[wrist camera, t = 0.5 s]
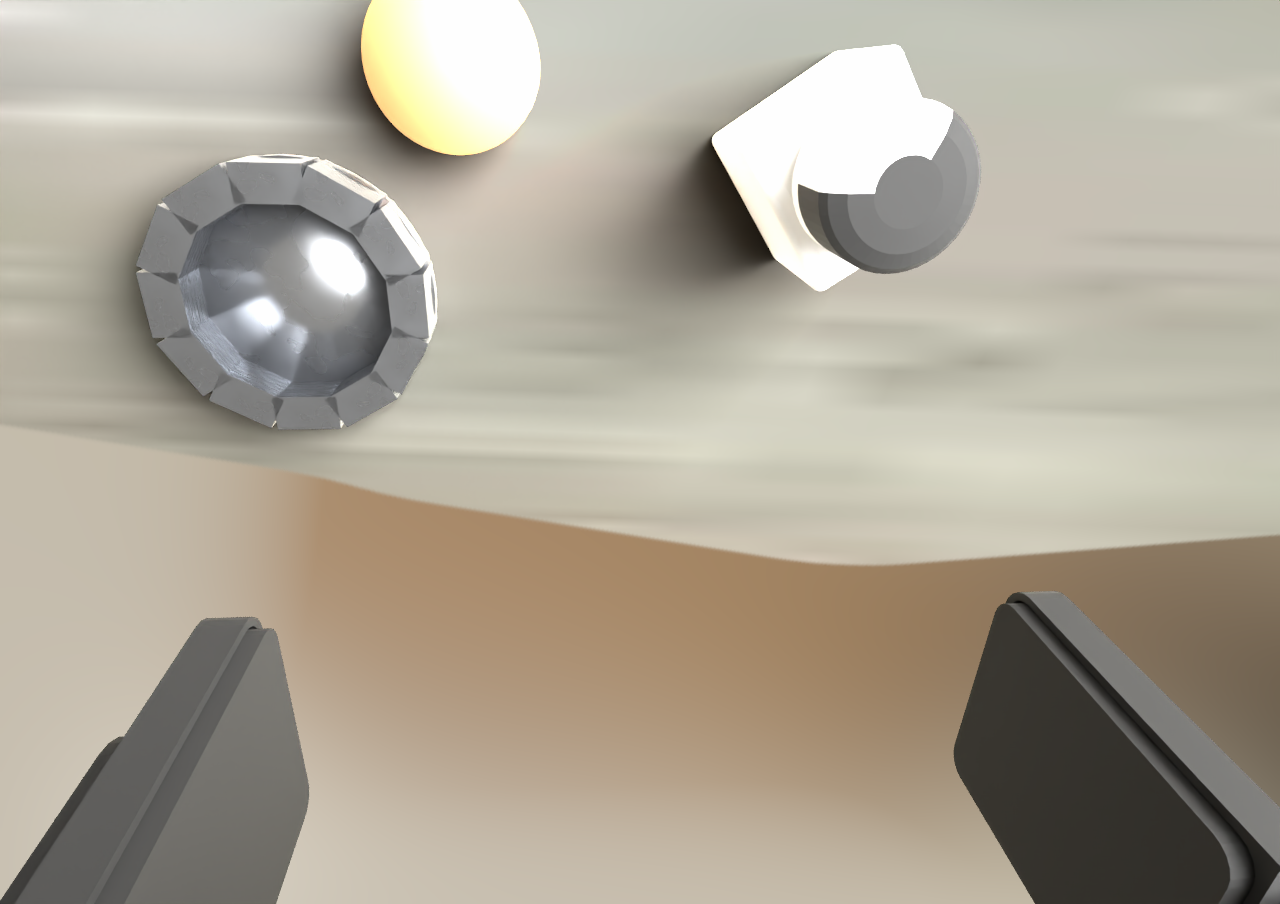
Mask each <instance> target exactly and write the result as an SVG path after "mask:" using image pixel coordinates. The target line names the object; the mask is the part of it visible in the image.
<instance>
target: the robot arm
mask: <svg viewBox="0 0 1280 904" xmlns="http://www.w3.org/2000/svg"><path fill="white" fill-rule="evenodd" d="M954 761H955V766H956V769H957V772H958V774H959V776H960V778H961V779H962V781H963V783H964V784H965V786H966V787H967V789H968V791H969V793H970V795H971V796H972V798H973V800H974V801H975V803H976V805H977V806H978V808H979V809H980V811H981V813H982V815H983V817H984V818H985V820H986V822H987V823H988V825H989V826H990V828H991V830H992V832H993V833H994V835H995V837H996V839H997V840H998V842H999V843H1000V845H1001V847H1002V849H1003V850H1004V852H1005V854H1006V855H1007V857H1008V859H1009V860H1010V862H1011V864H1012V865H1013V867H1014V869H1015V871H1016V872H1017V874H1018V875H1019V877H1020V879H1021V881H1022V882H1023V884H1024V886H1025V887H1026V889H1027V891H1028V893H1029V894H1030V896H1031V897H1032V899H1033V901H1034V903H1035V904H1280V807H1279V806H1278V805H1277V804H1276V803H1275V802H1273V801H1272V799H1271V798H1270V797H1269V796H1268V795H1267V794H1266V793H1265V792H1264V791H1263V790H1262V789H1260V787H1258V786H1257V785H1256V784H1255V783H1254V782H1253V781H1252V780H1251V779H1250V778H1249V777H1248V776H1247V775H1246V774H1245V773H1244V772H1243V771H1242V770H1241V769H1240V768H1239V767H1238V766H1237V765H1236V764H1235V763H1234V762H1233V761H1232V760H1231V759H1230V758H1229V757H1228V756H1227V755H1226V754H1225V753H1224V752H1223V751H1222V750H1221V749H1220V748H1219V747H1218V746H1217V745H1216V744H1215V743H1214V742H1213V741H1212V740H1211V739H1210V738H1209V737H1208V736H1207V735H1206V734H1205V733H1204V732H1203V731H1202V730H1201V729H1200V728H1199V727H1198V726H1197V725H1196V724H1195V723H1194V722H1193V721H1192V720H1191V719H1190V718H1189V717H1188V716H1187V715H1186V714H1185V713H1184V712H1183V711H1182V710H1181V709H1179V707H1178V706H1177V705H1176V704H1175V703H1174V702H1173V701H1172V700H1171V699H1170V698H1169V697H1167V695H1165V693H1164V692H1163V691H1162V690H1160V688H1159V687H1158V686H1157V685H1155V684H1154V683H1153V682H1152V681H1151V680H1150V679H1149V678H1148V677H1147V676H1146V675H1145V674H1144V673H1143V672H1142V671H1141V670H1140V669H1139V668H1138V667H1137V666H1136V665H1135V664H1134V663H1133V662H1132V661H1131V660H1130V659H1129V658H1128V657H1127V656H1126V655H1125V654H1124V653H1123V652H1122V651H1121V650H1120V649H1119V648H1118V647H1117V646H1116V645H1115V644H1114V643H1113V642H1112V641H1111V640H1110V639H1109V638H1108V637H1107V636H1106V635H1105V634H1104V633H1103V632H1102V631H1101V630H1100V629H1099V628H1098V627H1097V626H1096V625H1095V624H1094V623H1093V622H1092V621H1091V620H1090V619H1089V618H1088V617H1087V616H1086V615H1085V614H1084V613H1083V612H1082V611H1081V610H1080V609H1079V608H1078V607H1077V606H1075V604H1074V603H1073V602H1072V601H1071V600H1070V599H1069V598H1068V597H1066V596H1064V594H1062V593H1060V592H1056V591H1044V592H1018V593H1014V594H1012V595H1011V596H1010V597H1009V598H1008V599H1007V601H1006V604H1002V605H1000V606H999V607H998V608H997V610H996V612H995V615H994V618H993V621H992V625H991V628H990V631H989V635H988V638H987V641H986V644H985V648H984V651H983V654H982V657H981V661H980V664H979V667H978V671H977V674H976V677H975V680H974V684H973V687H972V690H971V694H970V697H969V700H968V703H967V707H966V710H965V713H964V716H963V720H962V723H961V726H960V729H959V733H958V736H957V739H956V742H955V747H954ZM308 799H309V785H308V779H307V774H306V769H305V764H304V759H303V755H302V751H301V745H300V741H299V736H298V731H297V727H296V722H295V717H294V712H293V708H292V703H291V698H290V693H289V689H288V684H287V680H286V674H285V670H284V665H283V660H282V656H281V651H280V647H279V641H278V637H277V634H276V632H275V631H274V629H263V628H262V625H261V623H260V621H259V620H258V619H257V618H255V617H239V618H238V617H236V618H207V619H204V620H202V621H201V622H200V623H199V624H198V625H197V626H196V628H195V629H194V631H193V632H192V634H191V635H190V637H189V638H188V640H187V642H186V643H185V645H184V646H183V648H182V649H181V651H180V652H179V654H178V656H177V657H176V658H175V660H174V661H173V663H172V664H171V666H170V668H169V669H168V670H167V672H166V674H165V675H164V677H163V678H162V680H161V681H160V683H159V684H158V686H157V687H156V689H155V690H154V692H153V693H152V695H151V697H150V698H149V700H148V701H147V703H146V704H145V706H144V707H143V709H142V710H141V712H140V713H139V715H138V716H137V718H136V719H135V721H134V722H133V724H132V725H131V727H130V728H129V730H128V731H127V733H126V734H125V736H124V737H118V738H116V739H115V740H113V741H112V742H110V743H109V744H108V745H107V746H106V747H105V748H104V749H103V751H102V752H101V753H100V754H99V755H98V757H97V758H96V760H95V761H94V763H93V764H92V766H91V767H90V769H89V770H88V772H87V773H86V775H85V776H84V777H83V779H82V780H81V782H80V783H79V785H78V787H77V788H76V790H75V791H74V792H73V794H72V795H71V797H70V798H69V800H68V801H67V803H66V804H65V806H64V807H63V809H62V810H61V812H60V813H59V815H58V816H57V817H56V819H55V820H54V822H53V823H52V825H51V826H50V828H49V829H48V831H47V832H46V834H45V835H44V837H43V838H42V840H41V841H40V843H39V844H38V846H37V847H36V849H35V850H34V852H33V853H32V854H31V856H30V857H29V859H28V860H27V862H26V864H25V865H24V867H23V868H22V869H21V871H20V872H19V874H18V875H17V877H16V878H15V880H14V881H13V883H12V884H11V886H10V887H9V889H8V890H7V892H6V893H5V895H4V896H3V897H2V899H1V900H0V904H276V902H277V899H278V896H279V893H280V890H281V887H282V884H283V881H284V878H285V875H286V872H287V869H288V866H289V863H290V860H291V857H292V854H293V851H294V848H295V845H296V842H297V839H298V836H299V833H300V830H301V827H302V825H303V822H304V819H305V815H306V812H307V807H308Z"/></svg>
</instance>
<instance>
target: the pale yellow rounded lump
mask: <svg viewBox="0 0 1280 904" xmlns="http://www.w3.org/2000/svg"><path fill="white" fill-rule="evenodd" d="M361 54H362V63H363V69H364V73H365V76H366V80H367V83H368V86H369V88H370V90H371V93H372V95H373V97H374V99H375V101H376V102H377V104H378V106H379V108H380V109H381V110H382V112H383V113H384V115H385V116H386V117H387V118H388V120H389V121H390V122H391V123H392V124H393V125H394V126H395V127H396V128H397V129H398V130H399V131H400V132H402V133H403V134H404V135H405V136H407V137H408V138H409V139H411V140H412V141H414V142H416V143H417V144H419V145H421V146H423V147H425V148H428V149H431V150H433V151H436V152H440V153H445V154H452V155H470V154H475V153H480V152H483V151H486V150H489V149H491V148H493V147H495V146H497V145H499V144H501V143H502V142H504V141H505V140H506V139H508V138H509V137H510V136H511V135H512V134H513V133H514V132H515V131H516V130H517V129H518V128H519V127H520V125H521V124H522V123H523V122H524V120H525V119H526V117H527V115H528V114H529V112H530V110H531V109H532V106H533V104H534V102H535V99H536V96H537V92H538V88H539V82H540V68H541V67H540V55H539V50H538V45H537V42H536V38H535V35H534V32H533V29H532V26H531V24H530V22H529V20H528V17H527V15H526V14H525V12H524V10H523V9H522V7H521V5H520V4H519V2H518V1H517V0H372V2H371V4H370V6H369V8H368V11H367V13H366V16H365V19H364V24H363V29H362V38H361Z"/></svg>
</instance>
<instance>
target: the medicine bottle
mask: <svg viewBox="0 0 1280 904" xmlns="http://www.w3.org/2000/svg"><path fill="white" fill-rule="evenodd" d="M712 144H713V146H714V148H715V150H716V152H717V154H718V156H719V157H720V159H721V161H722V163H723V165H724V167H725V168H726V170H727V172H728V174H729V176H730V178H731V180H732V181H733V183H734V185H735V187H736V189H737V191H738V192H739V194H740V196H741V198H742V200H743V202H744V203H745V205H746V207H747V209H748V211H749V213H750V215H751V216H752V218H753V220H754V222H755V224H756V226H757V227H758V229H759V231H760V233H761V235H762V237H763V238H764V240H765V242H766V244H767V246H768V248H769V249H770V251H771V253H772V255H773V257H774V258H775V259H776V260H777V261H778V262H780V263H781V264H782V265H783V266H785V267H786V268H787V269H789V270H790V271H791V272H792V273H794V274H795V275H796V276H798V277H799V278H800V279H801V280H803V281H804V282H805V283H806V284H808V285H809V286H810V287H812V288H813V289H814V290H815V291H823V290H826V289H827V288H829V287H830V286H832V285H834V284H835V283H837V282H838V281H840V280H841V279H843V278H845V277H846V276H848V275H849V274H851V273H853V272H854V271H856V270H857V269H859V268H860V269H862V270H864V271H868V272H873V273H881V274H890V273H899V272H904V271H908V270H911V269H913V268H916V267H919V266H921V265H923V264H925V263H927V262H928V261H930V260H931V259H933V258H934V257H936V256H937V255H939V254H940V253H941V252H942V251H943V250H945V249H946V248H947V247H948V246H949V245H950V244H951V243H952V242H953V241H954V239H955V238H956V237H957V236H958V234H959V233H960V232H961V230H962V229H963V227H964V226H965V224H966V222H967V221H968V219H969V217H970V215H971V213H972V210H973V208H974V206H975V202H976V199H977V196H978V192H979V186H980V177H981V164H980V156H979V151H978V146H977V144H976V141H975V139H974V136H973V134H972V132H971V131H970V129H969V127H968V125H967V124H966V123H965V122H964V121H963V119H962V118H961V117H960V116H959V115H958V114H956V113H955V112H954V111H953V110H952V109H950V108H948V107H947V106H945V105H943V104H941V103H938V102H936V101H933V100H929V99H924V98H922V97H921V95H920V92H919V90H918V87H917V85H916V82H915V80H914V77H913V75H912V72H911V70H910V67H909V65H908V62H907V60H906V57H905V55H904V52H903V50H902V49H901V48H900V47H899V46H897V45H888V46H878V47H869V48H860V49H850V50H841V51H836V52H833V53H832V54H830V55H829V56H827V57H826V58H825V59H823V60H822V61H820V62H819V63H817V64H816V65H814V66H813V67H811V68H810V69H809V70H807V71H806V72H804V73H803V74H801V75H800V76H798V77H797V78H795V79H794V80H792V81H791V82H790V83H788V84H787V85H785V86H784V87H782V88H781V89H779V90H778V91H776V92H775V93H774V94H772V95H771V96H769V97H768V98H766V99H765V100H763V101H762V102H760V103H759V104H758V105H756V106H755V107H753V108H752V109H750V110H749V111H747V112H746V113H744V114H743V115H742V116H740V117H739V118H737V119H736V120H734V121H733V122H731V123H730V124H728V125H727V126H726V127H724V128H723V129H721V130H720V131H718V132H717V133H715V135H714V136H713V138H712Z"/></svg>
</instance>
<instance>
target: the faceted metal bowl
mask: <svg viewBox="0 0 1280 904" xmlns="http://www.w3.org/2000/svg"><path fill="white" fill-rule="evenodd" d="M387 195H388V194H386V193H385V192H383V191H381V190H379V189H378V188H377V187H376V186H374V185H373V184H371V183H370V182H368V181H367V180H365V179H364V178H362V177H361V176H359V175H357V174H355V173H353V172H351V171H349V170H347V169H345V168H343V167H341V166H339V165H336V164H334V163H332V162H330V161H329V160H327V159H325V160H321V159H319V157H308V156H303V155H292V154H270V155H262V156H257V155H250V156H246V157H242V158H238V159H234V160H230V161H226V162H222V163H218V164H217V165H215V166H214V167H212V168H210V169H209V170H207V171H206V172H204V173H202V174H201V175H199V176H198V177H196V178H195V179H193V180H191V181H190V182H188V183H187V184H185V185H184V186H182V187H180V188H179V189H177V190H176V191H174V192H172V193H171V194H169V195H168V196H166V197H165V198H163V199H162V201H163V202H164V203H161V204H158V205H157V207H156V210H155V213H154V215H153V218H152V221H151V224H150V227H149V230H148V232H147V235H146V238H145V241H144V244H143V246H142V249H141V252H140V255H139V258H138V261H137V263H136V266H138V267H140V268H142V270H140V271H138V272H136V276H137V280H138V284H139V288H140V291H141V295H142V299H143V303H144V307H145V311H146V314H147V318H148V322H149V326H150V330H151V334H152V337H153V338H165V339H163V340H162V341H160V342H159V343H157V344H156V345H157V346H158V347H159V348H160V349H161V350H162V351H163V352H164V353H165V355H166V356H167V357H168V358H169V359H170V360H171V361H172V362H173V363H174V365H175V366H176V367H177V368H178V369H179V370H180V371H181V372H182V373H183V375H184V376H185V377H186V378H187V379H188V380H189V381H190V382H191V383H192V385H193V386H194V387H195V388H196V389H197V390H198V391H199V392H200V393H201V395H202V396H204V395H206V394H208V393H210V392H211V391H213V392H212V394H211V397H210V399H209V401H211V402H213V403H216V404H218V405H220V406H222V407H225V408H227V409H229V410H231V411H234V412H236V413H238V414H240V415H243V416H245V417H247V418H249V419H252V420H254V421H256V422H258V423H261V424H263V425H265V426H267V427H270V428H272V427H273V426H274V424H275V423H276V422H277V427H278V430H287V429H341V428H342V426H343V425H344V424H345V425H346V426H347V427H348V426H350V425H352V424H354V423H355V422H357V421H359V420H361V419H363V418H364V417H366V416H368V415H370V414H371V413H373V412H375V411H377V410H378V409H380V408H382V407H384V406H386V405H387V404H389V403H391V402H393V401H394V400H396V399H398V397H399V395H400V394H402V393H403V391H404V389H405V387H406V385H407V383H408V381H409V379H410V378H411V376H412V374H413V372H414V370H415V368H416V367H417V365H418V364H419V362H420V360H421V359H422V357H423V355H424V353H425V351H426V349H427V347H428V344H429V342H430V340H431V337H432V334H433V332H434V330H435V328H436V325H435V324H436V322H437V320H438V319H437V287H436V281H435V274H434V271H433V262H432V261H430V258H429V256H430V254H429V252H428V251H427V249H426V248H425V246H424V244H423V242H422V240H421V238H420V236H419V235H418V233H417V231H416V230H415V228H414V226H413V225H412V224H411V222H410V221H409V220H408V218H407V217H406V216H405V214H404V213H403V212H402V211H401V210H400V208H399V207H398V206H397V204H396V203H395V201H394V200H391V199H390V198H389V197H388V196H387Z"/></svg>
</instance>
